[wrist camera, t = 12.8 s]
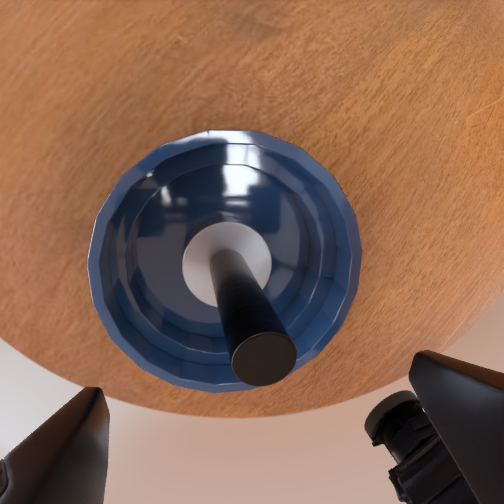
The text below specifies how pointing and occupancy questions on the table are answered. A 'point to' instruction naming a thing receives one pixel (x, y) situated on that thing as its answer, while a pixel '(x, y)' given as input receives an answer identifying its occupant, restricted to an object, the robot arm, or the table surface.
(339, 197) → the bowl
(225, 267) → the paper towel holder
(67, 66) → the table surface
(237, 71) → the table surface
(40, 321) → the table surface
